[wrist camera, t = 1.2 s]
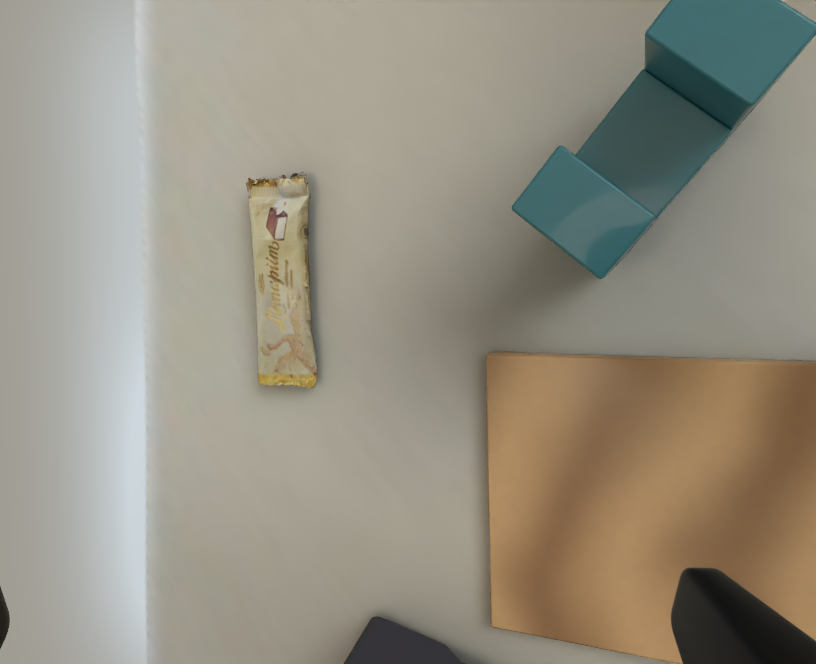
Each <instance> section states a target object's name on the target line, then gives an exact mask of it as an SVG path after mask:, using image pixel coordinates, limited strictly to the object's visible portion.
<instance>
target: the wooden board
mask: <svg viewBox="0 0 816 664" xmlns="http://www.w3.org/2000/svg"><path fill="white" fill-rule="evenodd" d="M486 388H487V437H488V486H489V535H490V584H491V625H492V627H495V628H501V629H506V630H511V631H516V632H521V633H526V634H531V635H536V636H541V637H546V638H551V639H556V640H561V641H566V642H571V643H576V644H581V645H586V646H591V647H596V648H601V649H607V650H612V651H617V652H622V653H627V654H632V655H637V656H642V657H647V658H652V659H657V660H662V661H667V662H672V663H677V664H683V662H682V659H681V656H680V653H679V650H678V647H677V644H676V640H675V637H674V634H673V631H672V626H671V611H672V606H673V603H674V599H675V595H676V591H677V587H678V583H679V579H680V576H681V573H682V572H683V570H684V569H686V568H690V567H711V568H716V569H718V570H720V571H722V572H723V573H725V574H726V575H727V576H729V577H730V578H731V579H733V580H734V581H735V582H737V583H738V584H739V585H741V586H742V587H743V588H745V589H746V590H748V591H749V592H750V593H752V594H753V595H754V596H756V597H757V598H758V599H760V600H761V601H762V602H764V603H765V604H767V605H768V606H769V607H771V608H772V609H773V610H775V611H776V612H777V613H779V614H780V615H781V616H783V617H784V618H786V619H787V620H788V621H790V622H791V623H792V624H794V625H795V626H796V627H798V628H799V629H800V630H802V631H803V632H804V633H806V634H807V635H809V636H810V637H811V638H813V639H814V640H815V641H816V361H801V360H765V359H729V358H693V357H657V356H621V355H585V354H549V353H512V352H489V353H487V354H486Z"/></svg>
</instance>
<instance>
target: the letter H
mask: <svg viewBox="0 0 816 664" xmlns="http://www.w3.org/2000/svg"><path fill="white" fill-rule="evenodd" d="M815 35H816V23H815V22H813V21H812V20H810V19H809V18H807V17H805V16H804V15H802V14H801V13H799V12H798V11H796V10H794V9H793V8H791V7H790V6H788V5H787V4H785V3H783V2H782V1H780V0H670V1H669V2H668V4H667V5H666V6H665V8H664V9H663V10H662V12H661V13H660V14H659V15H658V17H657V18H656V19H655V21H654V22H653V23H652V25H651V26H650V27H649V28H648V30H647V31H646V34H645V69H643V70H642V71H641V72H640V73H639V75H638V76H637V77H636V78H635V80H634V81H633V82H632V84H631V85H630V86H629V87H628V89H627V90H626V91H625V93H624V94H623V95H622V96H621V98H620V99H619V100H618V101H617V103H616V104H615V105H614V107H613V108H612V109H611V110H610V112H609V113H608V114H607V116H606V117H605V118H604V119H603V121H602V122H601V123H600V124H599V126H598V127H597V128H596V130H595V131H594V132H593V133H592V135H591V136H590V137H589V138H588V140H587V141H586V142H585V144H584V145H583V146H582V147H581V149H580V150H579V151H578V153H577V154H576V155H574V154H573V153H571V152H570V151H569V150H567V149H566V148H565V147H563V146H558V147H557V148H556V150H555V151H554V152H553V154H552V155H551V156H550V158H549V159H548V160H547V161H546V163H545V164H544V165H543V167H542V168H541V169H540V171H539V172H538V173H537V175H536V176H535V177H534V178H533V180H532V181H531V182H530V184H529V185H528V186H527V188H526V189H525V190H524V191H523V193H522V194H521V195H520V197H519V198H518V199H517V201H516V202H515V203H514V205H513V206H512V210H513V211H514V212H515V213H516V214H518V215H519V216H520V217H521V218H523V219H524V220H525V221H526V222H528V223H529V224H530V225H531V226H533V227H534V228H535V229H537V230H538V231H539V232H540V233H542V234H543V235H544V236H545V237H547V238H548V239H549V240H550V241H552V242H553V243H554V244H555V245H557V246H558V247H559V248H561V249H562V250H563V251H564V252H566V253H567V254H568V255H569V256H571V257H572V258H573V259H574V260H576V261H577V262H578V263H580V264H581V265H582V266H583V267H585V268H586V269H587V270H588V271H590V272H591V273H592V274H593V275H595V276H596V277H597V278H599V279H602V278H604V277H605V276H606V275H607V274H608V273H609V272H610V271H611V270H612V269H613V268H614V267H615V266H616V265H617V264H618V263H619V262H620V261H621V260H622V258H623V257H624V256H625V255H626V254H627V253H628V252H629V250H630V249H631V248H632V247H633V246H634V245H635V244H636V242H637V241H638V240H639V239H640V238H641V237H642V236H643V234H644V233H645V232H646V231H647V230H648V229H649V228H650V226H651V225H652V223H653V221H655V220H656V219H657V218H658V216H659V215H660V214H661V213H662V212H663V211H664V210H665V208H666V207H667V206H668V205H669V204H670V203H671V202H672V200H673V199H674V198H675V197H676V196H677V195H678V194H679V192H680V191H681V190H682V189H683V188H684V187H685V186H686V184H687V183H688V182H689V181H690V180H691V179H692V178H693V176H694V175H695V174H696V173H697V172H698V171H699V170H700V168H701V167H702V166H703V165H704V164H705V163H706V162H707V160H708V159H709V158H710V157H711V156H712V155H713V154H714V152H716V151H717V150H718V149H719V148H720V146H721V145H722V144H723V143H724V142H725V141H726V140H727V138H728V137H729V136H730V135H731V134H732V133H733V132H734V130H735V129H736V128H737V127H738V126H739V125H740V124H741V122H742V121H743V120H744V119H745V118H746V117H747V116H748V114H749V113H750V112H751V111H752V110H753V109H754V108H755V106H756V105H757V104H758V103H759V102H760V100H761V99H762V98H763V97H764V96H765V94H766V93H767V92H768V91H769V90H770V89H771V87H772V86H773V85H774V84H775V83H776V81H777V80H778V79H779V78H780V77H781V75H782V74H783V73H784V72H785V71H786V69H787V68H788V67H789V66H790V65H791V64H792V62H793V61H794V60H795V59H796V58H797V56H798V55H799V54H800V53H801V52H802V50H803V49H804V48H805V47H806V46H807V44H808V43H809V42H810V41H811V40H812V39H813V37H814V36H815Z"/></svg>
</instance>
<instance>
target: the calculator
mask: <svg viewBox="0 0 816 664" xmlns="http://www.w3.org/2000/svg"><path fill="white" fill-rule="evenodd" d="M344 664H464V663H462V662H461V661H460V660H459V659H458V658H457V657H456V656H455V655H454V654H453V653H452V652H451V651H450V650H449V649H448V648H447V647H446V646H445V645H444V644H441V643H439V642H437V641H434V640H432V639H430V638H427V637H425V636H423V635H421V634H418V633H416V632H414V631H411V630H409V629H407V628H404V627H402V626H400V625H397V624H395V623H393V622H391V621H388V620H386V619H383V618H381V617H374V618H372V619H371V620H370V622H369V623H368V625H367V626H366V628H365V630H364V631H363V633H362V634H361V636H360V638H359V639H358V641H357V643H356V644H355V646H354V647H353V649H352V651H351V652H350V654H349V656H348V657H347V659H346V661H345V662H344Z"/></svg>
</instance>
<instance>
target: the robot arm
mask: <svg viewBox="0 0 816 664" xmlns="http://www.w3.org/2000/svg"><path fill="white" fill-rule="evenodd" d="M9 620H10V619H9V611H8V608H7V605H6V602H5V599H4V596H3V593H2V590H1V587H0V648H1V646H2V644H3V642H4V640H5V638H6V635H7V632H8V628H9V622H10V621H9ZM671 626H672V631H673V634H674V637H675V640H676V644H677V647H678V650H679V653H680V656H681V659H682V662H683V664H816V641H815V640H814V639H813V638H811V637H810V636H809V635H807V634H806V633H804V632H803V631H802V630H800V629H799V628H798V627H796V626H795V625H794V624H792V623H791V622H790V621H788V620H787V619H786V618H784V617H783V616H781V615H780V614H779V613H777V612H776V611H775V610H773V609H772V608H771V607H769V606H768V605H767V604H765V603H764V602H762V601H761V600H760V599H758V598H757V597H756V596H754V595H753V594H752V593H750V592H749V591H748V590H746V589H745V588H743V587H742V586H741V585H739V584H738V583H737V582H735V581H734V580H733V579H731V578H730V577H729V576H727V575H726V574H725V573H723V572H722V571H720V570H718V569H716V568H711V567H690V568H686V569H684V570H683V572H682V573H681V576H680V579H679V583H678V587H677V591H676V595H675V599H674V603H673V606H672V611H671Z"/></svg>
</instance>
